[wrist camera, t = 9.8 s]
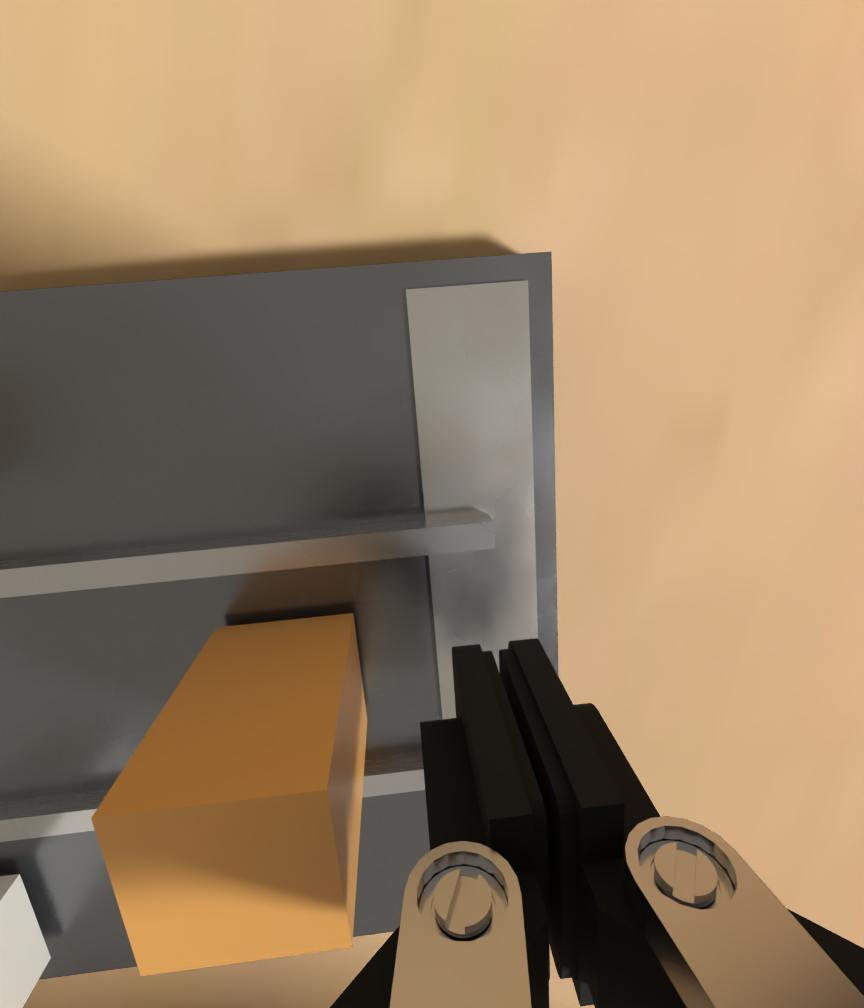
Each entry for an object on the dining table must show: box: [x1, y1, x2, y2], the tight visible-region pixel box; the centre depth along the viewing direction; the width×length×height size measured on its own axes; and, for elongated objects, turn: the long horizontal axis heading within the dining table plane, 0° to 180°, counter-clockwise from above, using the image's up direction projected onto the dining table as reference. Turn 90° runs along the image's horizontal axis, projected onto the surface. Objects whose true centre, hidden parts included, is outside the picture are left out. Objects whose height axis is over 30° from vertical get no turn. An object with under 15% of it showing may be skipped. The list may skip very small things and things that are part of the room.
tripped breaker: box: [91, 613, 367, 976], centre depth 10 cm, size 3×3×5 cm
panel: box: [0, 252, 558, 979], centre depth 12 cm, size 22×17×2 cm
